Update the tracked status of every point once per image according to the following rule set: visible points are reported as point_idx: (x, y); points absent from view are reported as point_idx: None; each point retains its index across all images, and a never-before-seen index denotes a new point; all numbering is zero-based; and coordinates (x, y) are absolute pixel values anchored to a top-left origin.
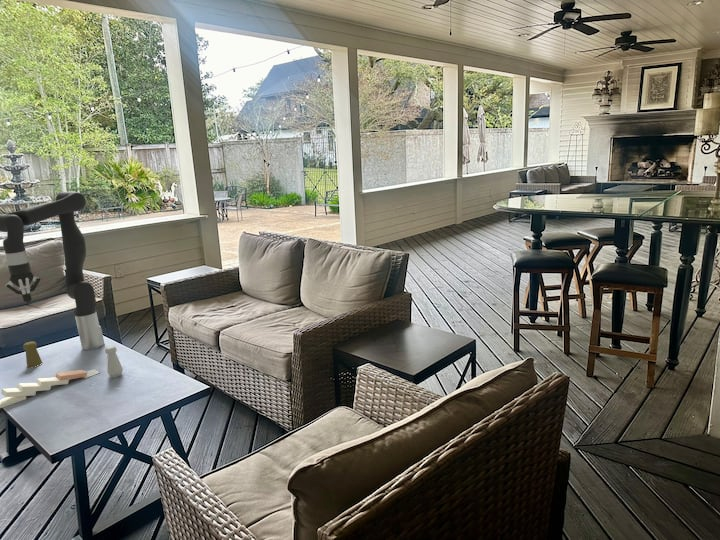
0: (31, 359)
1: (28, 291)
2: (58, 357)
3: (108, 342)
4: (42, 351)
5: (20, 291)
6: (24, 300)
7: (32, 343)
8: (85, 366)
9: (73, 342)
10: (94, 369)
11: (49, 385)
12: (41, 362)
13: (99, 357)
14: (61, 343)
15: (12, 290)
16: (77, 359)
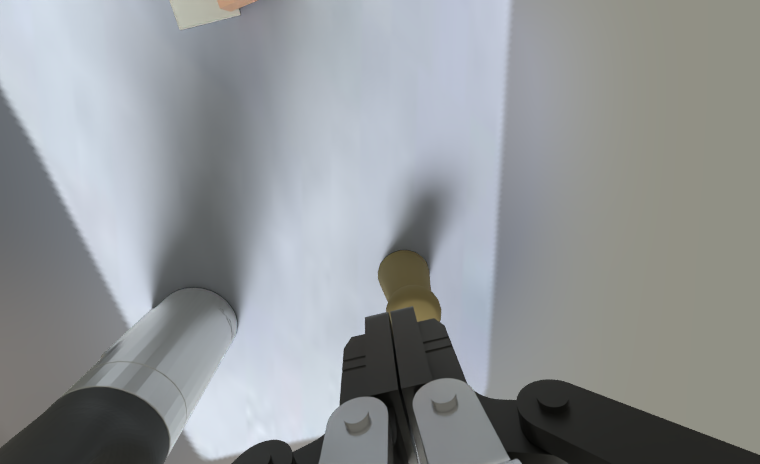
0: (412, 266)
1: (355, 429)
2: (322, 292)
3: None
4: None
5: (514, 450)
6: (436, 328)
7: (402, 304)
8: (220, 104)
9: (270, 415)
10: (179, 24)
11: None
12: (380, 269)
13: (166, 172)
14: (312, 433)
15: (744, 449)
16: (253, 216)
